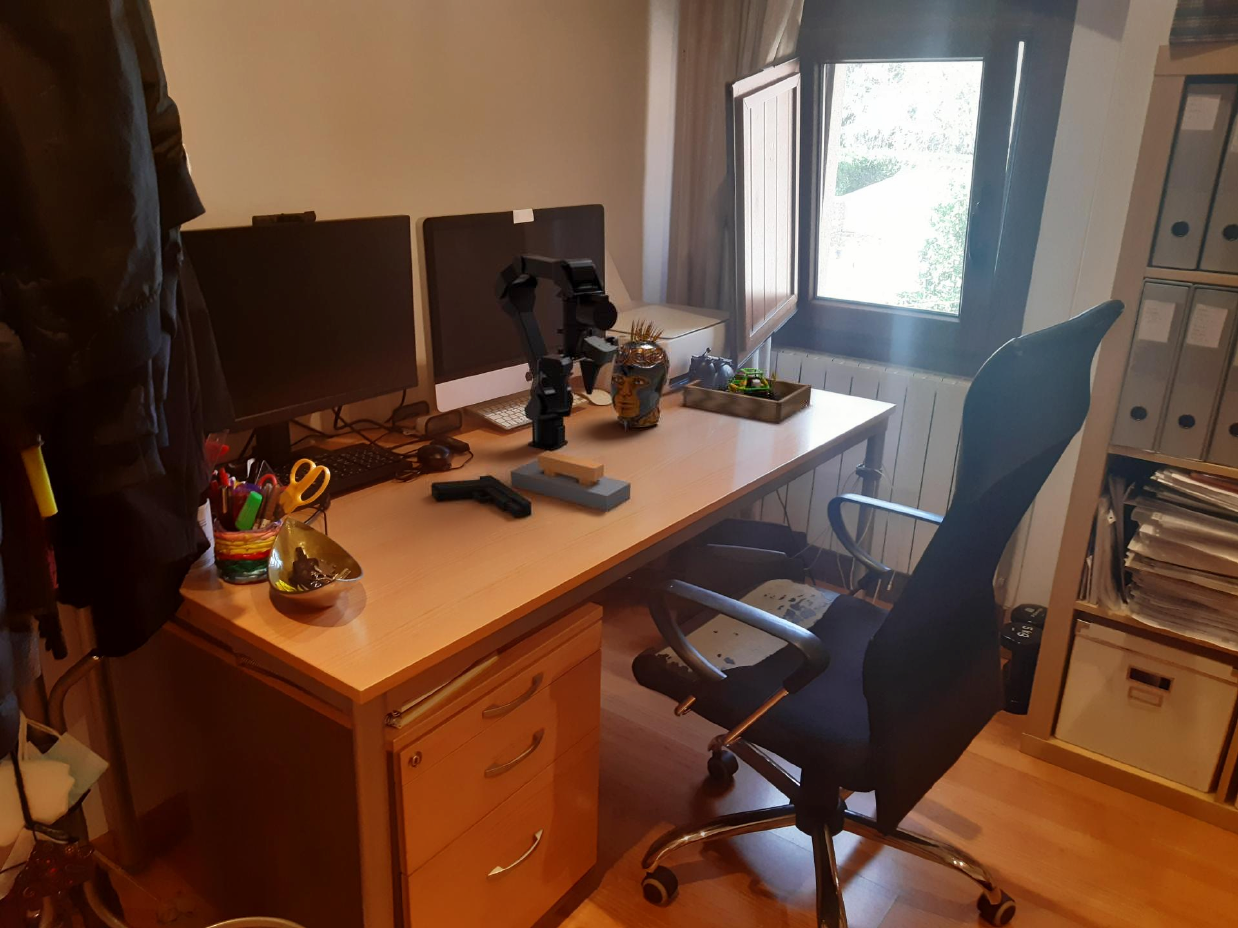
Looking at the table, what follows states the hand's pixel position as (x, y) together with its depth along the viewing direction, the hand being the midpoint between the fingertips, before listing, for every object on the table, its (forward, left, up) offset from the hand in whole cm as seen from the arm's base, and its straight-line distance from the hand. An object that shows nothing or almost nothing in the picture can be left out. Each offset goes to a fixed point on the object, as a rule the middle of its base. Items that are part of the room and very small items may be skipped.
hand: (576, 399), depth 186 cm
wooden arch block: (+10, -16, -13) cm, 23 cm away
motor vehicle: (+12, +59, -13) cm, 62 cm away
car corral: (+12, +59, -13) cm, 62 cm away
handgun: (0, -31, -14) cm, 34 cm away
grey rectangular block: (+10, -16, -13) cm, 23 cm away
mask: (-2, +29, -13) cm, 32 cm away
